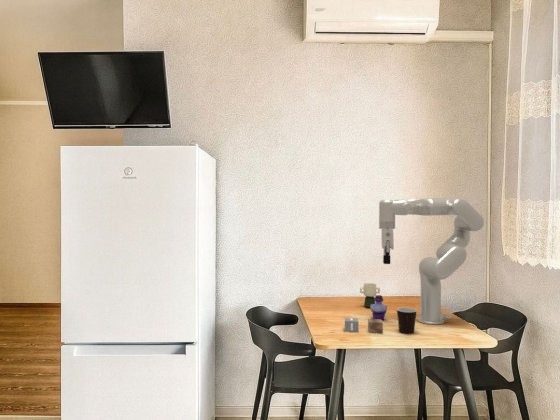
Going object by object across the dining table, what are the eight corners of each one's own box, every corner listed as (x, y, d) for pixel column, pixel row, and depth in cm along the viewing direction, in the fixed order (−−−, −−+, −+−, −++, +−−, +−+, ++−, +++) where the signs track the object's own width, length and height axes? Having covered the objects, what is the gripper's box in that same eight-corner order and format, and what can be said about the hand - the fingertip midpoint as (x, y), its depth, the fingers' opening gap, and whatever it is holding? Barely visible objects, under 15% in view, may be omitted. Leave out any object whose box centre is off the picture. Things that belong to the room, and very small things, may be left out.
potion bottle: (390, 319, 224) (391, 295, 223) (381, 322, 218) (381, 298, 217) (376, 316, 230) (376, 293, 230) (366, 319, 224) (366, 295, 224)
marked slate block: (357, 328, 207) (357, 317, 207) (358, 332, 201) (358, 321, 201) (344, 328, 208) (344, 317, 208) (345, 332, 201) (345, 320, 201)
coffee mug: (401, 328, 208) (401, 306, 208) (419, 331, 202) (419, 309, 202) (390, 333, 199) (390, 311, 199) (408, 337, 193) (409, 314, 193)
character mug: (378, 306, 253) (378, 283, 253) (380, 309, 246) (380, 285, 246) (359, 305, 254) (359, 282, 253) (360, 308, 247) (361, 285, 246)
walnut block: (381, 330, 205) (381, 319, 205) (382, 334, 199) (382, 322, 199) (368, 329, 206) (368, 318, 206) (369, 333, 200) (369, 322, 200)
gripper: (396, 226, 207) (396, 266, 207) (393, 225, 222) (393, 262, 222) (380, 226, 208) (380, 265, 208) (377, 224, 223) (377, 261, 223)
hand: (386, 263), depth 215 cm, fingers closed
